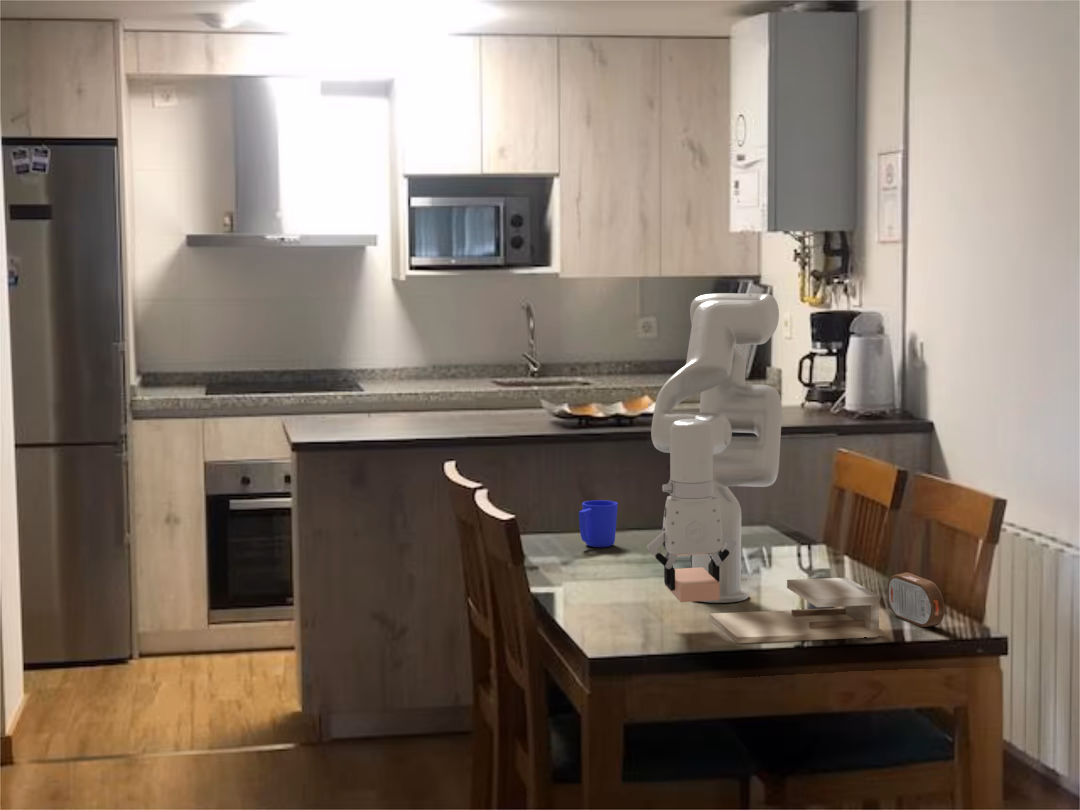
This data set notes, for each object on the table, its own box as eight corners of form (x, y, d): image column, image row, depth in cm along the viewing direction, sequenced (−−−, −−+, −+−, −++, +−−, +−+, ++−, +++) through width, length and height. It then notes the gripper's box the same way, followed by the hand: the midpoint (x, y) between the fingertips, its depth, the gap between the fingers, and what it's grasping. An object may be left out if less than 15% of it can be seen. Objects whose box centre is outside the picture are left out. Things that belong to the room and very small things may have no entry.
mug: (566, 549, 346) (566, 506, 345) (594, 541, 355) (594, 499, 355) (596, 553, 341) (596, 509, 340) (624, 544, 351) (624, 502, 350)
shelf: (737, 643, 260) (738, 603, 260) (709, 618, 278) (709, 581, 277) (883, 636, 265) (884, 597, 264) (846, 613, 282) (847, 576, 282)
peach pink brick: (719, 599, 264) (719, 583, 264) (680, 602, 263) (680, 585, 262) (702, 583, 275) (702, 567, 274) (665, 585, 274) (665, 569, 273)
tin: (945, 630, 269) (946, 584, 268) (930, 632, 268) (931, 585, 267) (898, 612, 283) (899, 568, 282) (883, 613, 282) (884, 569, 281)
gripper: (648, 496, 261) (649, 596, 264) (745, 491, 264) (745, 590, 266) (638, 487, 268) (639, 584, 271) (733, 482, 271) (733, 579, 274)
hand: (691, 586), depth 269 cm, fingers closed on peach pink brick, 7 cm apart
